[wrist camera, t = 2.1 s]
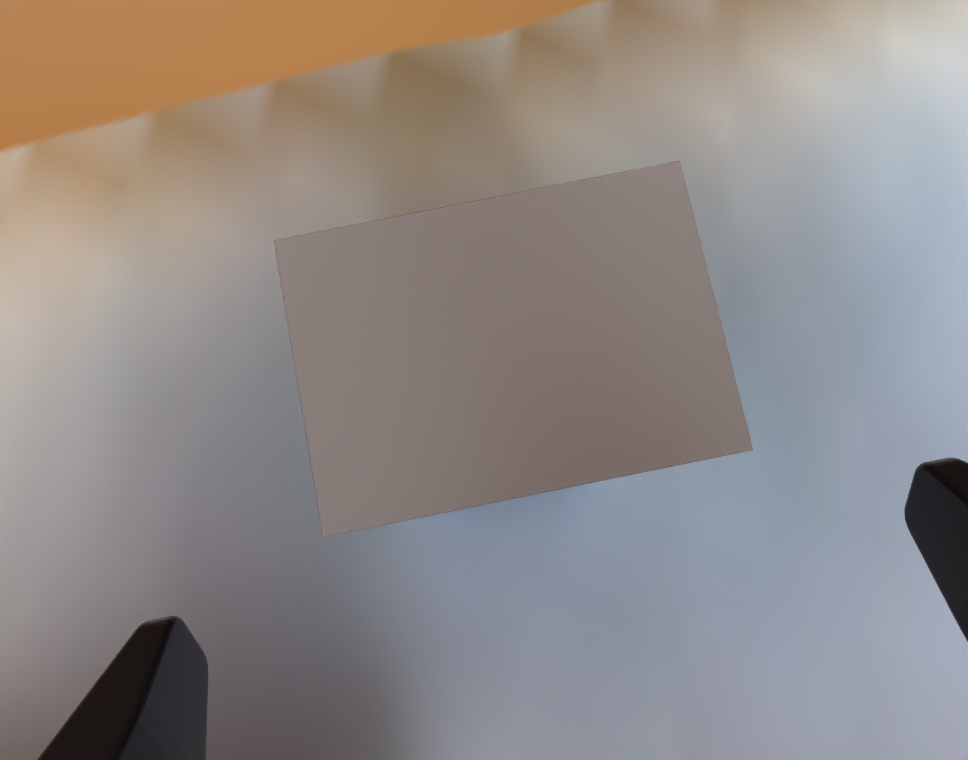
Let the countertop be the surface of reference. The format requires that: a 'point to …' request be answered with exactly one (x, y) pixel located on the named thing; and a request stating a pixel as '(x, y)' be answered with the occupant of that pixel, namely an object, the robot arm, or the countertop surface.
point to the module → (507, 348)
